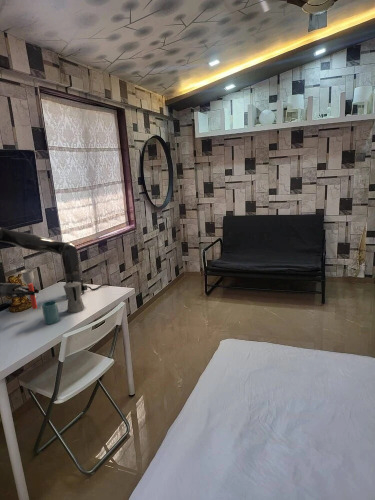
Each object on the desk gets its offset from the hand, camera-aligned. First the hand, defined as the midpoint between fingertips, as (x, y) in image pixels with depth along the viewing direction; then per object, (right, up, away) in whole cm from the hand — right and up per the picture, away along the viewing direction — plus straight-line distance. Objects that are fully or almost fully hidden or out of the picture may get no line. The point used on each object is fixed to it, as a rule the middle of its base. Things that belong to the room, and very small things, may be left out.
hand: (36, 292), depth 175 cm
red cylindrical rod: (-2, -9, +3) cm, 10 cm away
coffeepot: (+18, -12, +10) cm, 24 cm away
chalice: (-18, -8, +34) cm, 39 cm away
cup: (+9, -15, -2) cm, 18 cm away
